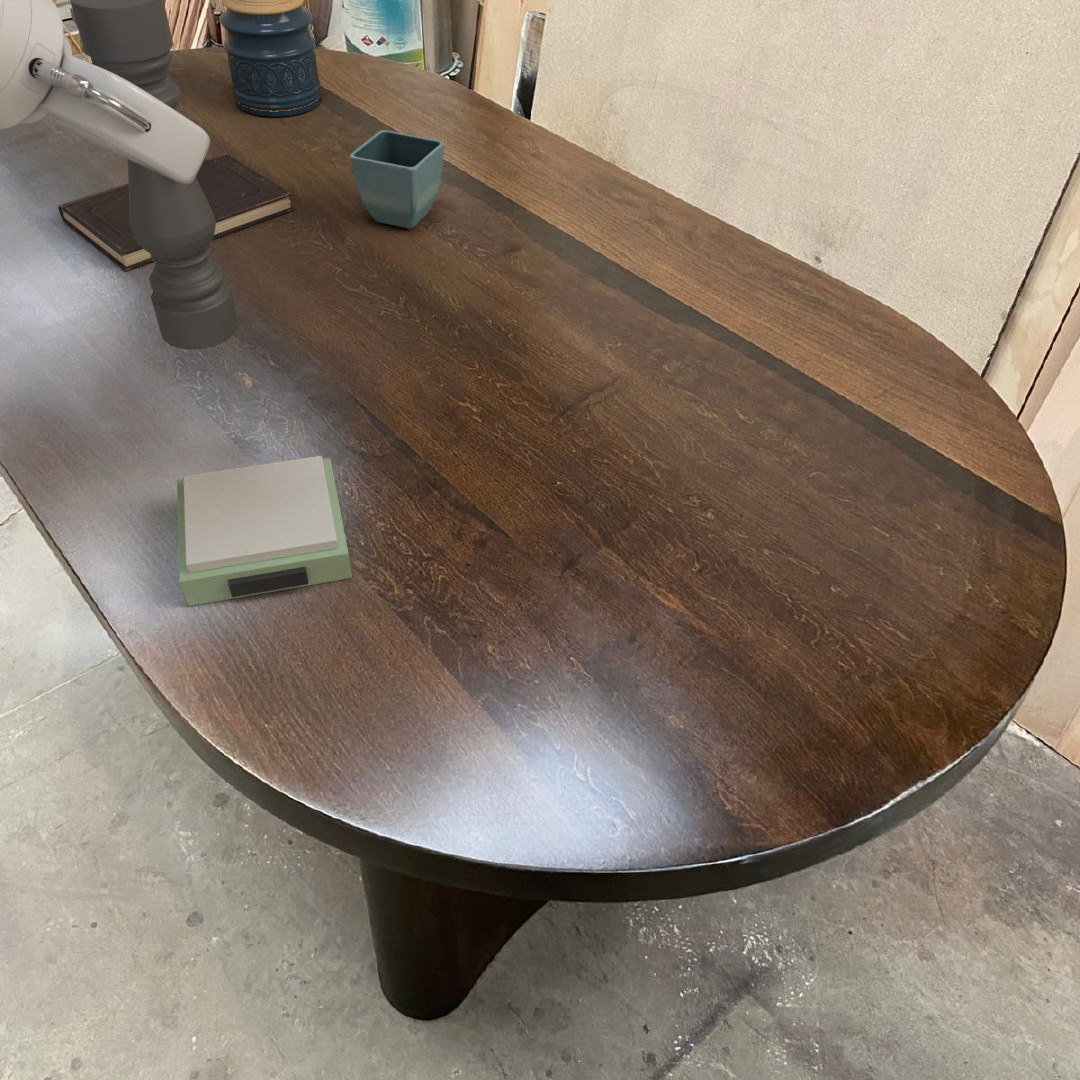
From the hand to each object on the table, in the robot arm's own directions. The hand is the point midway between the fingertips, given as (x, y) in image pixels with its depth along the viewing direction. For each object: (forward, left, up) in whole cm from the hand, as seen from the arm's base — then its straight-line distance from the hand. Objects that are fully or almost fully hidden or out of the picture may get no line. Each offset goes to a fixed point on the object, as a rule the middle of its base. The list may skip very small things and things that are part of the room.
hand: (163, 154), depth 70 cm
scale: (+2, -12, -28) cm, 31 cm away
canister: (+11, +82, -28) cm, 87 cm away
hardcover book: (-4, +48, -28) cm, 55 cm away
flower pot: (+23, +42, -28) cm, 55 cm away
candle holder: (-1, 0, -15) cm, 15 cm away
